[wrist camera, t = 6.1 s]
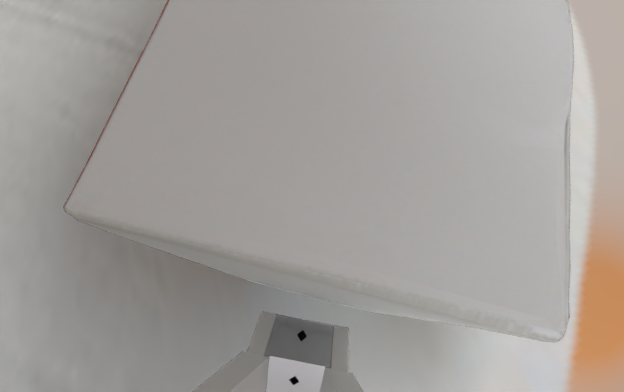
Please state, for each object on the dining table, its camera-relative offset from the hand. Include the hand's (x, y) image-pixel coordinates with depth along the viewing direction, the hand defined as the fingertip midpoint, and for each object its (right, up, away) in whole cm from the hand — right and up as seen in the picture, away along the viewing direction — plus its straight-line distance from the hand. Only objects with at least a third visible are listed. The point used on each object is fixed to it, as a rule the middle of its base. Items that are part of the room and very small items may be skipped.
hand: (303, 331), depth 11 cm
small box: (+1, +3, +6) cm, 7 cm away
